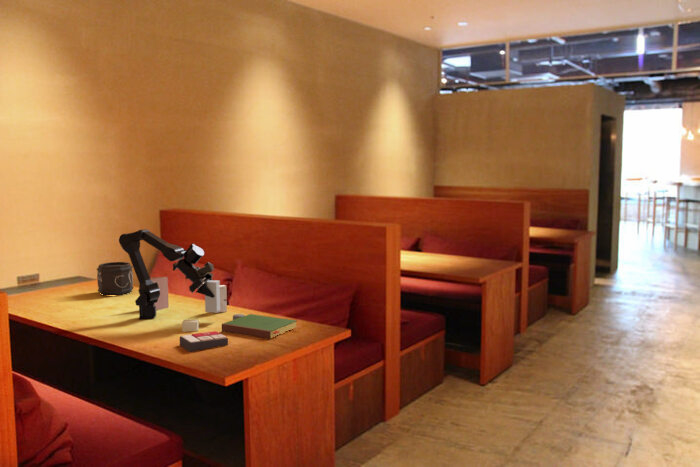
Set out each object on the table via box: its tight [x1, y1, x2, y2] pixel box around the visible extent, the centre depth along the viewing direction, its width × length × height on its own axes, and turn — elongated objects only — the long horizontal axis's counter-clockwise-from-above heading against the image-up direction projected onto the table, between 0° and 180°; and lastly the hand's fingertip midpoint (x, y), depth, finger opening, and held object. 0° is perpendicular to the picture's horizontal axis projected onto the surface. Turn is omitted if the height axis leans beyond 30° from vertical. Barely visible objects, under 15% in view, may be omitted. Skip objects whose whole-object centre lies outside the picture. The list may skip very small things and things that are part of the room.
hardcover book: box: [221, 313, 297, 340], centre depth 250 cm, size 25×19×4 cm
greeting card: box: [150, 276, 170, 311], centre depth 286 cm, size 11×7×15 cm, turn 108°
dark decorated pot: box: [96, 261, 135, 296], centre depth 325 cm, size 18×18×16 cm
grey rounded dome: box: [232, 313, 246, 320], centre depth 263 cm, size 5×5×3 cm
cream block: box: [181, 318, 200, 332], centre depth 251 cm, size 6×4×4 cm, turn 95°
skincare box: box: [213, 284, 228, 314], centre depth 282 cm, size 6×4×12 cm
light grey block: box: [204, 279, 221, 313], centre depth 263 cm, size 5×5×13 cm
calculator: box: [179, 330, 229, 353], centre depth 229 cm, size 11×4×15 cm
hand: (215, 295), depth 262 cm, fingers closed on light grey block, 5 cm apart
